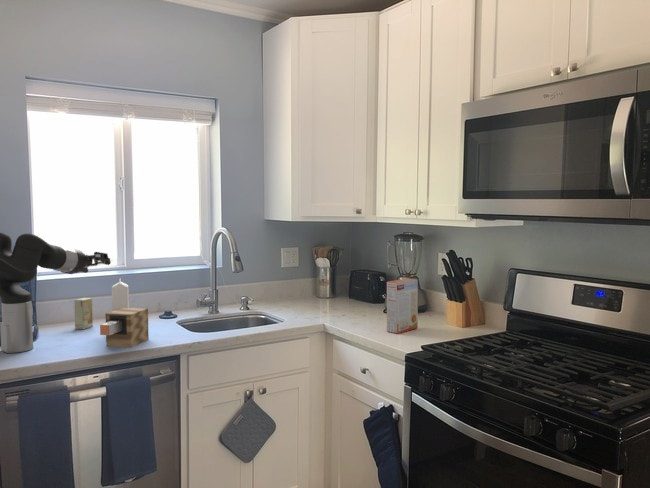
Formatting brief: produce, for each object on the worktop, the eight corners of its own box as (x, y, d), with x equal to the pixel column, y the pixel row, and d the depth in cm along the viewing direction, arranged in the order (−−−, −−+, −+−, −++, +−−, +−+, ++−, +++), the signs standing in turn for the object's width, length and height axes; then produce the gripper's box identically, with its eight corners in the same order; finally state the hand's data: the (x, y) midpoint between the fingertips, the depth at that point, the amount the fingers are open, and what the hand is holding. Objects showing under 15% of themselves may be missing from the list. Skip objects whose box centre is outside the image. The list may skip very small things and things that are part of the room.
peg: (109, 335, 188) (109, 325, 187) (100, 334, 188) (99, 324, 188) (128, 327, 199) (128, 318, 199) (120, 327, 200) (119, 317, 200)
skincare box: (83, 329, 223) (82, 300, 222) (74, 329, 224) (73, 299, 223) (93, 326, 229) (92, 297, 228) (84, 325, 230) (83, 297, 229)
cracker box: (406, 326, 230) (407, 277, 229) (418, 328, 226) (418, 279, 224) (385, 331, 220) (386, 280, 219) (397, 334, 216) (397, 282, 215)
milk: (112, 335, 214) (110, 279, 212) (114, 331, 220) (112, 277, 218) (129, 334, 216) (127, 279, 214) (130, 330, 221) (128, 277, 220)
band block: (131, 347, 195) (130, 314, 194) (106, 346, 197) (105, 313, 196) (148, 339, 207) (147, 308, 206) (124, 338, 209) (124, 307, 208)
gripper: (84, 241, 166) (114, 248, 182) (44, 255, 168) (77, 261, 184) (88, 264, 165) (119, 269, 180) (48, 278, 167) (81, 282, 182)
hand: (97, 265), depth 182 cm, fingers open, 8 cm apart
